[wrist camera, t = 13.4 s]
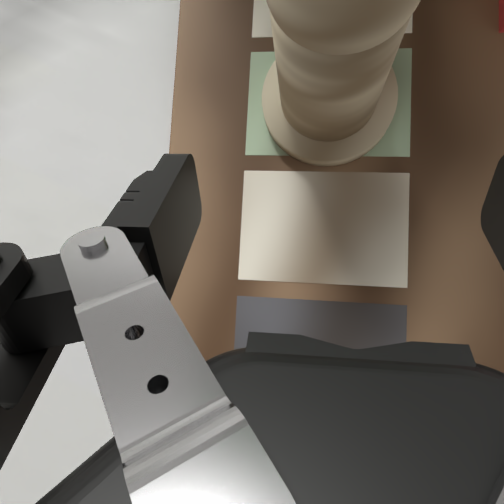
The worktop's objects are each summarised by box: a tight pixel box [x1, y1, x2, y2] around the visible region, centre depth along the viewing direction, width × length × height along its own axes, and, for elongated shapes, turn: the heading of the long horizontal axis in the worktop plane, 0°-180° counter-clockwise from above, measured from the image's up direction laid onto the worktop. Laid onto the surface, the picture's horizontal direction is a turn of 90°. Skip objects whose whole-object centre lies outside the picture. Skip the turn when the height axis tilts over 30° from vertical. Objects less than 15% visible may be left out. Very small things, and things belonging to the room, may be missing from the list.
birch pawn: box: [262, 0, 421, 166], centre depth 13 cm, size 6×6×10 cm
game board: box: [169, 0, 504, 373], centre depth 17 cm, size 20×22×1 cm
